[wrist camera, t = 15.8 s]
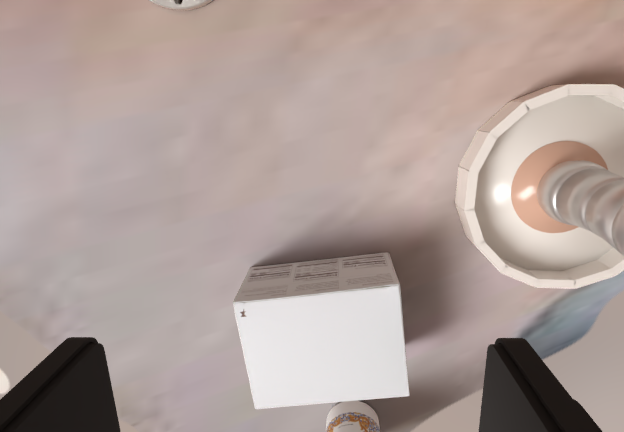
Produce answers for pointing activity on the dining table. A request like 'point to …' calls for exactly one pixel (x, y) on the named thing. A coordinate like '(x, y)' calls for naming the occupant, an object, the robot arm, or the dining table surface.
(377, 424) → the bath foam
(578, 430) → the robot arm
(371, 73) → the dining table surface
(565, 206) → the plastic bottle
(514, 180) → the round tray
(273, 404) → the supplement box
